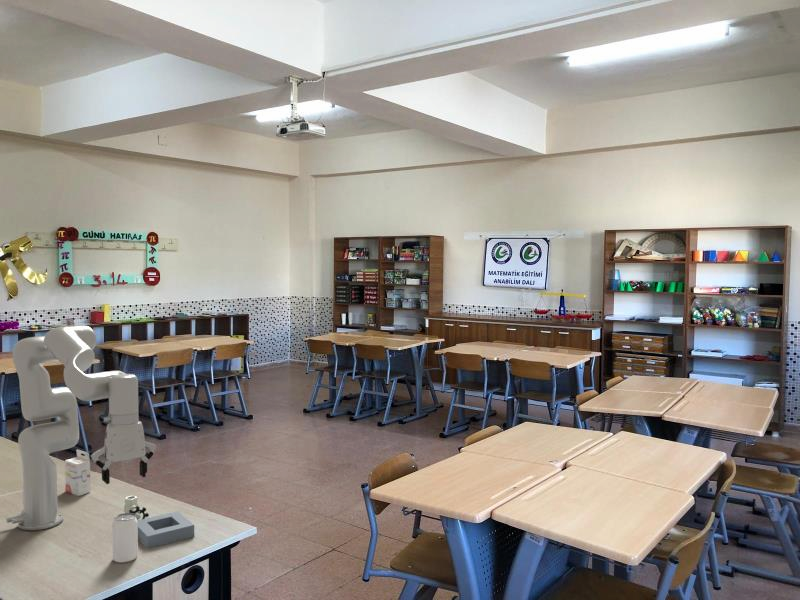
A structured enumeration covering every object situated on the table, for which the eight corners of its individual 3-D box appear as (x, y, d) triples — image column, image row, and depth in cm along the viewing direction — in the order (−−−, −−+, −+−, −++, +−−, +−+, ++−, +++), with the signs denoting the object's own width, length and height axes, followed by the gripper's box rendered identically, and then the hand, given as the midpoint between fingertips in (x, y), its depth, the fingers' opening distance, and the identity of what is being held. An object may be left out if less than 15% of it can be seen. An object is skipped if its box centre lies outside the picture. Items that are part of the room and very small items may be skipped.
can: (113, 565, 179) (113, 522, 179) (112, 556, 185) (111, 514, 184) (138, 560, 182) (138, 518, 182) (136, 551, 188) (136, 510, 187)
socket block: (147, 548, 190) (147, 536, 190) (132, 532, 201) (132, 521, 201) (194, 536, 199) (194, 524, 199) (178, 521, 210) (177, 511, 210)
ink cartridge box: (64, 491, 237) (63, 451, 236) (77, 488, 241) (76, 448, 240) (78, 496, 232) (77, 455, 231) (91, 492, 236) (90, 452, 235)
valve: (119, 517, 214) (127, 529, 204) (118, 497, 213) (126, 509, 203) (140, 513, 217) (149, 525, 207) (140, 493, 217) (148, 504, 207)
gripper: (94, 426, 173) (95, 489, 174) (159, 417, 184) (160, 476, 185) (87, 420, 179) (88, 482, 180) (151, 412, 190) (152, 470, 191)
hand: (124, 479), depth 183 cm, fingers open, 9 cm apart
